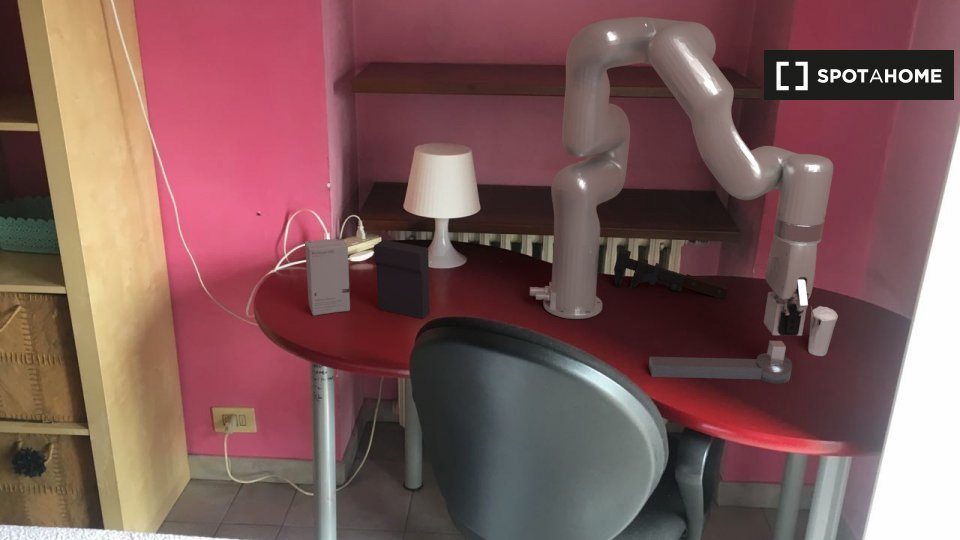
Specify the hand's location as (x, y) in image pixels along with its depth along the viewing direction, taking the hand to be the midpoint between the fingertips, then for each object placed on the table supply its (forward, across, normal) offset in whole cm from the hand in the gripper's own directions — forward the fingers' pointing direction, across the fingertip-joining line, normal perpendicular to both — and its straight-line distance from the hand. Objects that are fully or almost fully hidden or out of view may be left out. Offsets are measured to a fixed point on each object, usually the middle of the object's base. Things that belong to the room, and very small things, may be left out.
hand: (782, 326), depth 134 cm
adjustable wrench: (+10, -37, -12) cm, 40 cm away
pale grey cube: (+1, 0, 0) cm, 1 cm away
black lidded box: (+9, -23, -70) cm, 75 cm away
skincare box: (+9, -24, -86) cm, 90 cm away
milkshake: (+10, -9, +11) cm, 17 cm away
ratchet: (+10, 0, -10) cm, 14 cm away
